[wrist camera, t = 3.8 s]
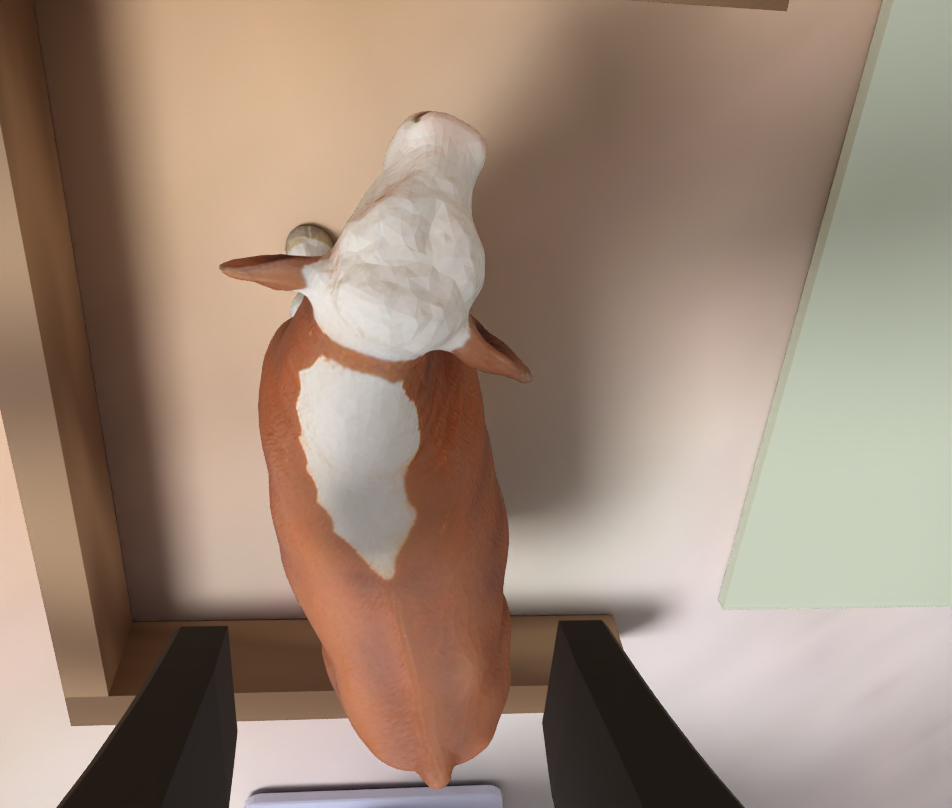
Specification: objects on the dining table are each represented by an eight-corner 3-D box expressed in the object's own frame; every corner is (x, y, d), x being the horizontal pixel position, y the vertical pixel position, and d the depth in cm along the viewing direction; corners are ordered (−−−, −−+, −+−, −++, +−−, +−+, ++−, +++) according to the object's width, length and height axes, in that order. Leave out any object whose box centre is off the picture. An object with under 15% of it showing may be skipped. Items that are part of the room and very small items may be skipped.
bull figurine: (481, 41, 17) (554, 154, 10) (486, 574, 24) (531, 860, 17) (251, 48, 17) (164, 169, 10) (321, 587, 24) (300, 883, 17)
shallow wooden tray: (606, 640, 26) (627, 710, 24) (97, 650, 24) (71, 726, 22) (746, -64, 17) (801, -55, 15) (-50, -128, 15) (-120, -129, 13)
